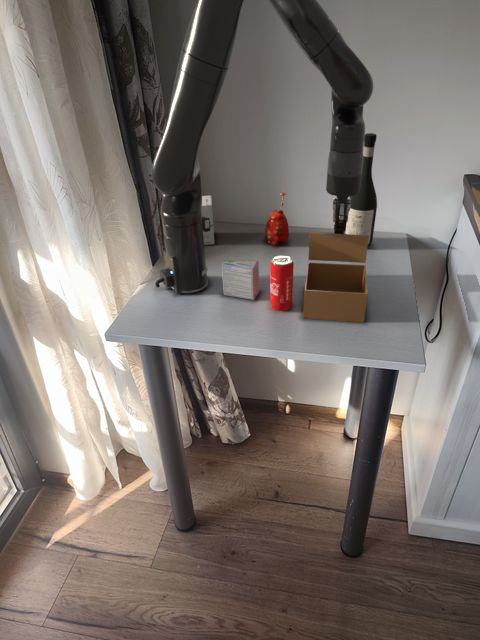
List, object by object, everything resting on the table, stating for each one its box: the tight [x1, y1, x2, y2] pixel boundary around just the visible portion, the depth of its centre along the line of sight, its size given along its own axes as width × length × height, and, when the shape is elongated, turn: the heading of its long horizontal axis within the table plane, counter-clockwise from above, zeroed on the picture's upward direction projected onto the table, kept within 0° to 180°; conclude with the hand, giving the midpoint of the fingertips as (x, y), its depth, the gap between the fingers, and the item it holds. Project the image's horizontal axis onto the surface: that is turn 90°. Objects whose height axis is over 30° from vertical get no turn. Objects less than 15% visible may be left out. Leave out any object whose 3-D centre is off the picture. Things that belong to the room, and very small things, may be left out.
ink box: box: [201, 195, 216, 246], centre depth 140 cm, size 9×5×12 cm, turn 6°
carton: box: [302, 261, 369, 323], centre depth 111 cm, size 14×14×7 cm
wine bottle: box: [344, 132, 378, 247], centre depth 131 cm, size 8×8×30 cm
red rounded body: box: [264, 189, 290, 247], centre depth 138 cm, size 8×7×15 cm
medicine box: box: [221, 256, 260, 301], centre depth 115 cm, size 8×4×9 cm, turn 71°
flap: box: [307, 232, 369, 264], centre depth 112 cm, size 7×14×1 cm
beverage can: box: [269, 254, 295, 312], centre depth 110 cm, size 5×5×12 cm
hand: (338, 244), depth 115 cm, fingers closed
